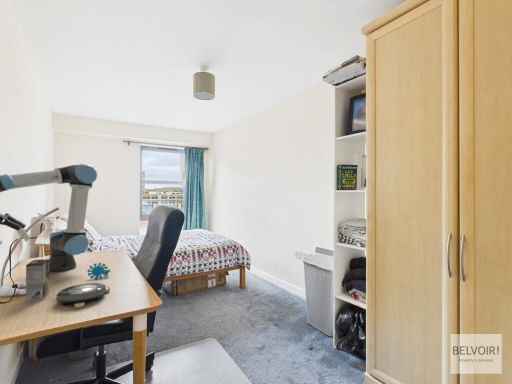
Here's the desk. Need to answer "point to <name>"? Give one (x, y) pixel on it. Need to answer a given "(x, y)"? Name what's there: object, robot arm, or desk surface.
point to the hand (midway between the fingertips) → (14, 242)
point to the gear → (98, 271)
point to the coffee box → (37, 280)
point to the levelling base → (82, 294)
